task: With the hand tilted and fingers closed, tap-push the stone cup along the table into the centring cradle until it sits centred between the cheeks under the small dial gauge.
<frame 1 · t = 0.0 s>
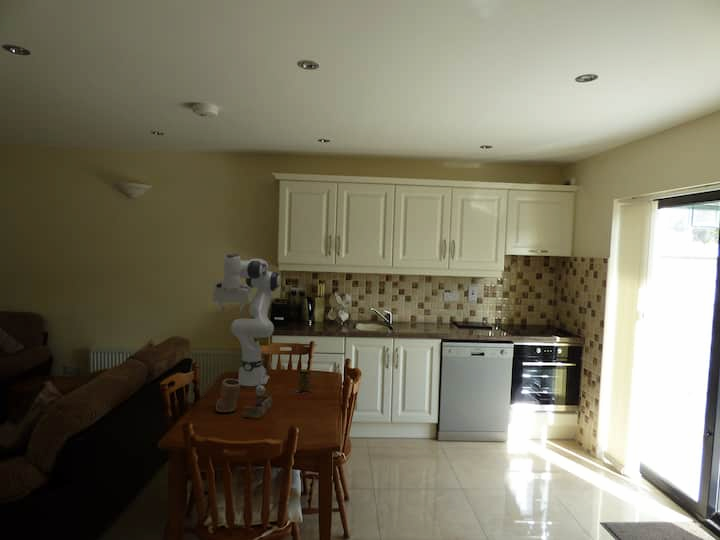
hand: (231, 310, 238), 48 cm above the table, tool pointing down, fingers open, 8 cm apart
cradle: (258, 411, 224), on the table
stone cup: (228, 409, 226), on the table
condiment: (304, 391, 258), on the table
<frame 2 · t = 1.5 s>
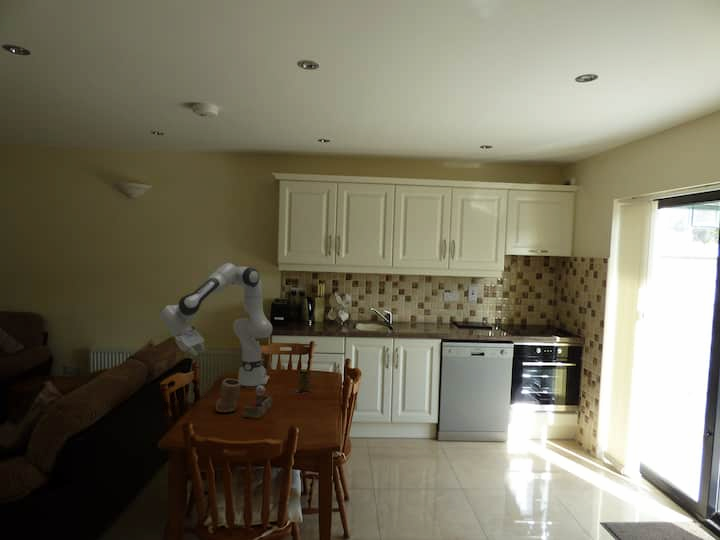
hand: (200, 353, 227), 27 cm above the table, tool tilted 45°, fingers open, 8 cm apart
nothing on the table moved.
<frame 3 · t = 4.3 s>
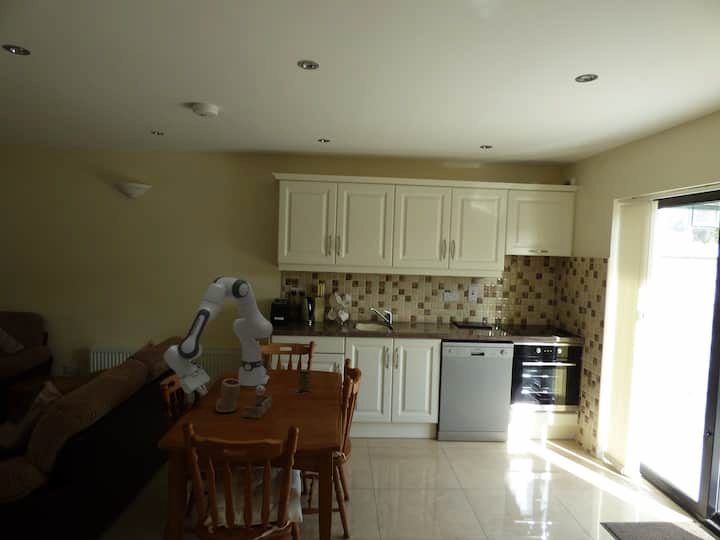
hand: (205, 393, 228), 7 cm above the table, tool tilted 45°, fingers closed
nothing on the table moved.
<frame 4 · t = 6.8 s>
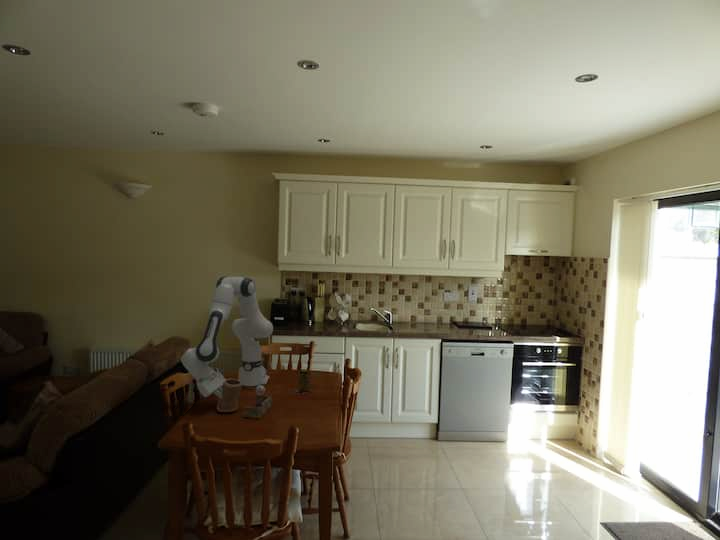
hand: (222, 396, 227), 6 cm above the table, tool tilted 45°, fingers closed
stone cup: (229, 409, 226), on the table, touching gripper
everything else where it was.
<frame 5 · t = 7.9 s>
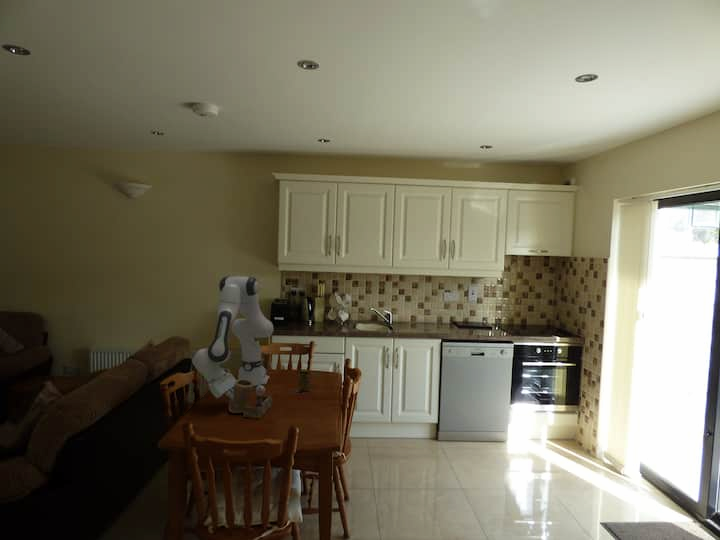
hand: (234, 397, 226), 6 cm above the table, tool tilted 45°, fingers closed
stone cup: (240, 410, 226), on the table, touching gripper
everything else where it was.
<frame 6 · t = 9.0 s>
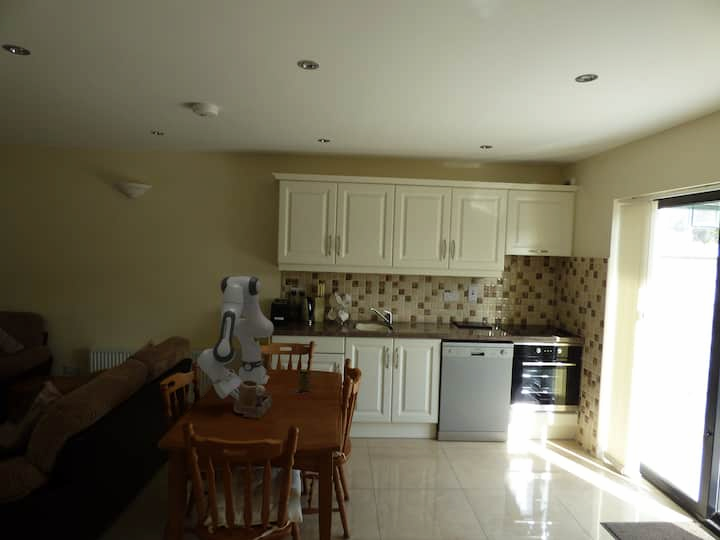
hand: (239, 398, 225), 6 cm above the table, tool tilted 45°, fingers closed
stone cup: (245, 410, 225), on the table, touching gripper
everything else where it was.
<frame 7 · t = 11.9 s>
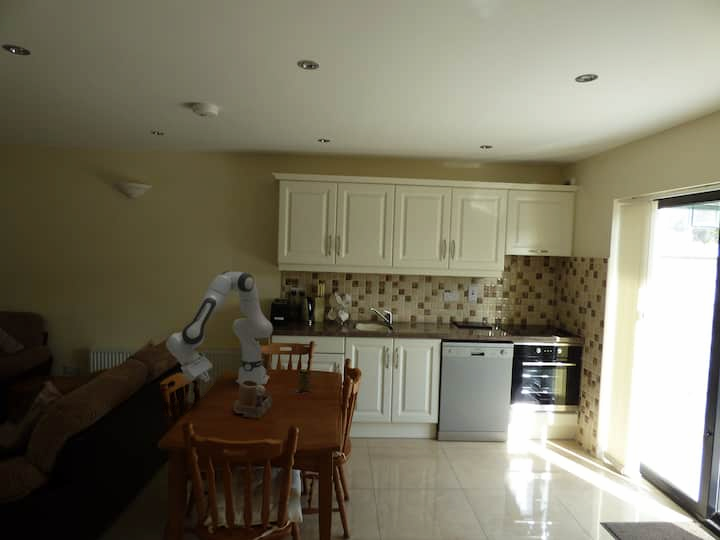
hand: (208, 380, 228), 13 cm above the table, tool tilted 45°, fingers closed
stone cup: (245, 410, 225), on the table
everything else where it was.
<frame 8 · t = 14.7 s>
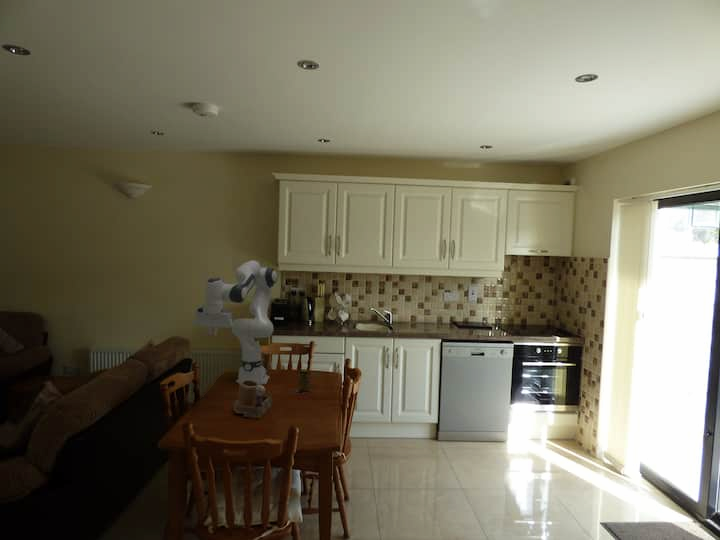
hand: (213, 335, 236), 35 cm above the table, tool pointing down, fingers closed
nothing on the table moved.
at the end: stone cup inside the target area (1.5 cm from its centre), on the table; stone cup tilted 0°; stone cup moved 9.5 cm from its start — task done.
